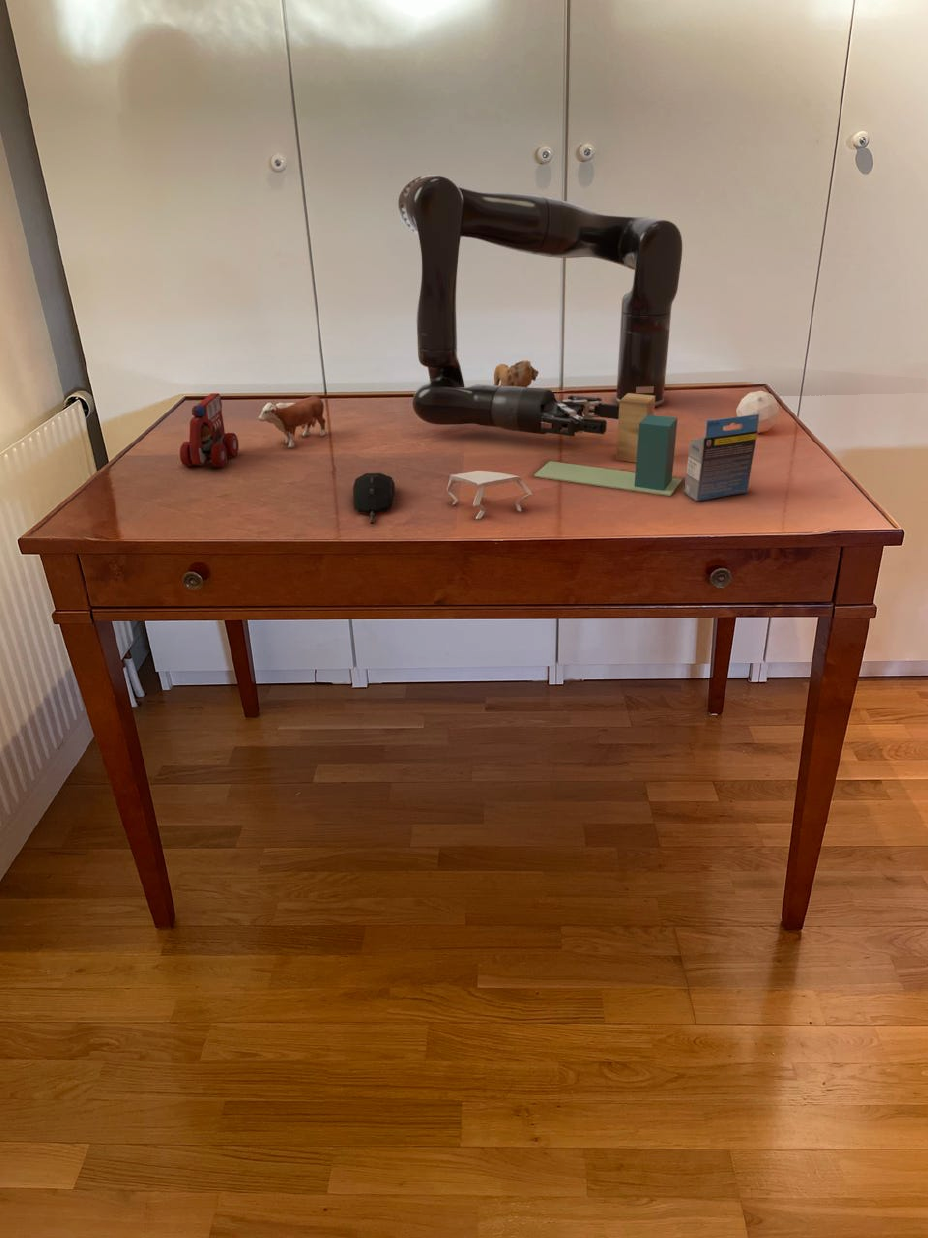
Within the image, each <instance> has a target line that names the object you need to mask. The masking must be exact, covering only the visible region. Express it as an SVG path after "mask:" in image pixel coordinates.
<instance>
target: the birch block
mask: <svg viewBox="0 0 928 1238" xmlns="http://www.w3.org/2000/svg"><path fill="white" fill-rule="evenodd" d="M618 405H619V419H617V438H616V456H615V460H616V461H622V462H629V463H636V458H637V444H638V431H639V423H640V422H641V421H642V420H643V419H644V418H645V417H646V416H647V415H648V414H649V415H655V408H656V407H655V396H653V395H643V394H633V393H628V394H626V395H625V396H624V397H623V398H622V399H621V400H620V403H619V404H618Z"/></svg>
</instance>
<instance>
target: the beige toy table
mask: <svg viewBox="0 0 928 1238" xmlns="http://www.w3.org/2000/svg"><path fill="white" fill-rule="evenodd" d="M456 481H457V482H461V483H465V484H468V485H472V486H475V487H477V492H476V494H475V497H474V499H473V503H472V506H473V507H474V508H476V509H478V510H479V512H478V514H477V515H476V517H475V519H476V520H480V519H482V517H483V515H484V514H485V512H486V510H487V509H486V508H485V507H484V506H483V505H482V504H481V502H484V499H485V494H484V493H485V492H484V490H485V488H489V487H493V486H498V485H504V484H509V483H513V482H515V483H518V484H519V486H521V488H523V490H524V491H525V492H526V493H527V494H525V495H524V496H523V497H522V498H520V499H518V500H517V501H516V502H514V504H515V507H516V510H517V511H518V512H522V507H521V505H520V503H522V502H524V501H525V500H527V499H529V498H530V497H531V496H533V493H532V491H531V490H530V488H529V487H528V486H527V484H526V483H525V482H524V480H523V479H522V477H521V476H518V475H515V474H509V473H504V472H498V471H489V470H488V471H487V470H475V471H468V472H467V471H466V472H461V473H453V474H449V480H448V483H447V488H446V493H447V494H448V495H449V496H450V497H451V498H452V499H453V500H454V502H453V503H452V506H456V505H457V503H458V502H459V499H458V498H457V497H456V496H455V495H454V494H453V493H452V492H451V490H452V487H453V485H454V484H455V483H456Z"/></svg>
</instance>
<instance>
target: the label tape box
mask: <svg viewBox="0 0 928 1238" xmlns="http://www.w3.org/2000/svg"><path fill="white" fill-rule="evenodd" d="M758 420H759V414H754V415H746V416H738V417H737V416H729V417H723V418H714V419H706V420H705V430H704V431H705V433H704V437H702V438H696V439H692V440H690V441H689V447H688V457H687V465H686V473H685V480H684V481H685V482H684V488H683V489H684V490H683V492H684V494H686V495H687V496H688V497H690V499H692V500H694V501H695V502H701V501H709V500H713V499H719V498H725V497H731V496H736V495H741V494H747V493H748V491H749V485H750V478H751V473H752V467H753V462H754V456H755V450H756V442H757V438H758V433H757V428H758ZM732 424H733V425H734V426H740V427H739V428H734V429H724V427H729V426H731V425H732Z"/></svg>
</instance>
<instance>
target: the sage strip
mask: <svg viewBox="0 0 928 1238" xmlns="http://www.w3.org/2000/svg"><path fill="white" fill-rule="evenodd" d="M533 478H538V479H544V480H545V479H547V480H554V481H559V482H560V481H561V482H568V483H575V484H579V485H580V484H581V485H587V486H588V485H589V486H593V487H594V486H595V487H600V488H601V487H603V488H609V489H614V490H615V489H616V490H621V491H630V492H637V493H643V494H650V495H658V496H664V497H672V495H673V494H674V492H675V491H676V490H677V488H678V487H679V486H680V484H681V483H682V482H683V478H678V477H672V481H671V482H670V483H669V485H668V486H667V487H666V489H665V490H664V491H662V490H655V489H648V488H641V487H635V472H634V471H626V470H620V469H611V468H605V467H598V466H597V467H596V466H588V465H581V464H574V463H567V462H560V461H559V462H558V461H553V460H550V461H548V462H547V463H546V464H545V465H544V466H543V467H541V468H540V469H539V470H538V471H537V472H536V473H534V474H533Z"/></svg>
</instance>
